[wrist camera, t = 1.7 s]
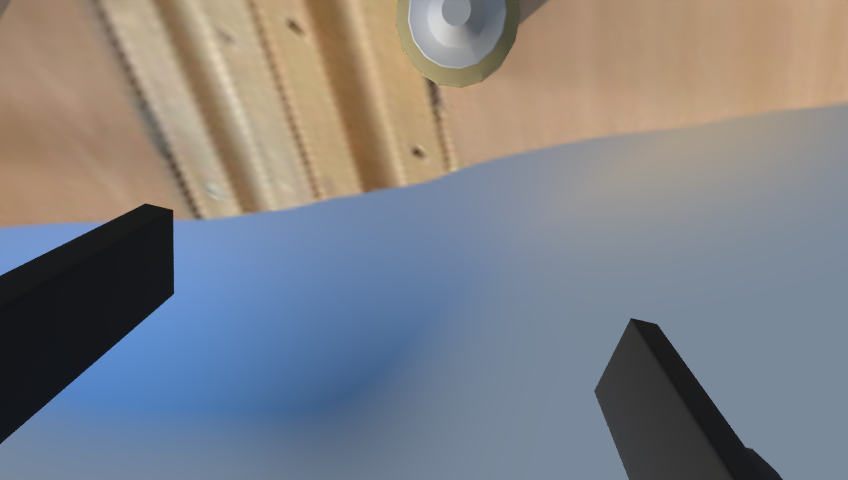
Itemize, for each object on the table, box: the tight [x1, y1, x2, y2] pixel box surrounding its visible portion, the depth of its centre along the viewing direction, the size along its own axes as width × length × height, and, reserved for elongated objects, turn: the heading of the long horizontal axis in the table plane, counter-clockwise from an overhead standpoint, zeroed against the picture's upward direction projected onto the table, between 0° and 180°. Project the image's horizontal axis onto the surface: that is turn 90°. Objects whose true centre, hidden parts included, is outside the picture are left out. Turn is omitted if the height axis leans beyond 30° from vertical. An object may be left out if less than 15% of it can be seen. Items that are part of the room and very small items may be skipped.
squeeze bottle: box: [396, 0, 520, 88], centre depth 26 cm, size 8×8×18 cm
